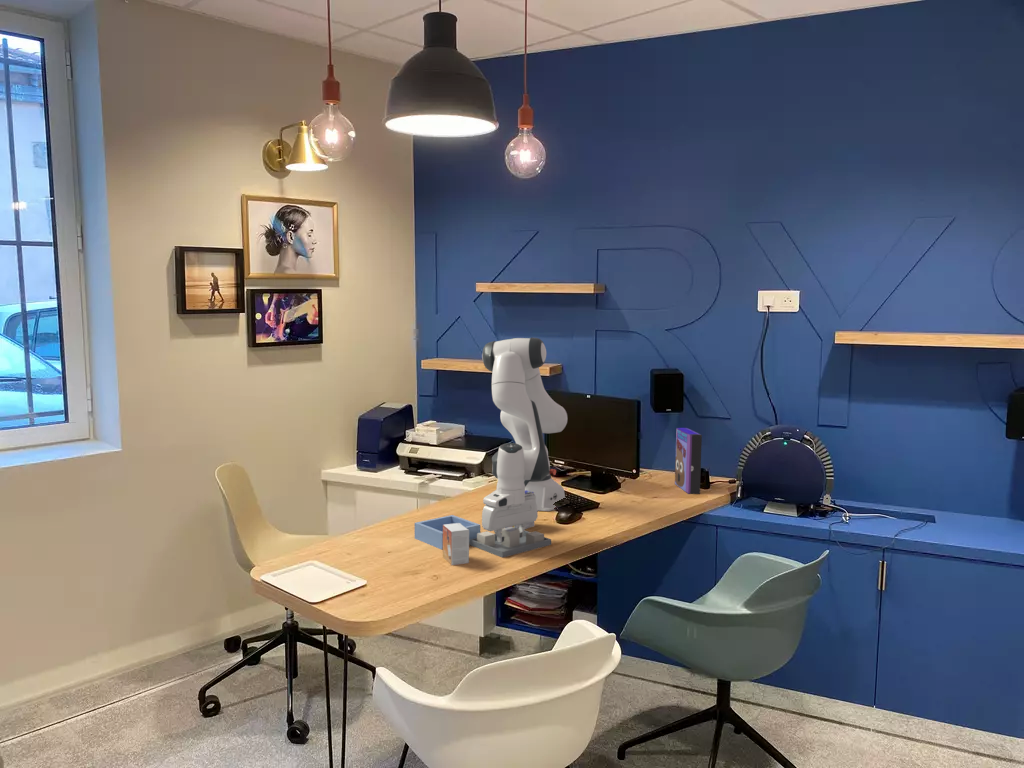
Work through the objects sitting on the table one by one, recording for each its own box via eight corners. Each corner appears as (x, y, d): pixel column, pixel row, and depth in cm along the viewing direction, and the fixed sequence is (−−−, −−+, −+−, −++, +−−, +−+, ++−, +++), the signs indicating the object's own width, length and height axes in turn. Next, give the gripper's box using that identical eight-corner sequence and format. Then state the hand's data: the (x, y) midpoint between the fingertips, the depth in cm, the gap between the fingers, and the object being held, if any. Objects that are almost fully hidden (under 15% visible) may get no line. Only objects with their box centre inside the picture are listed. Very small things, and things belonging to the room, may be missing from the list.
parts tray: (517, 534, 266) (517, 528, 265) (551, 546, 254) (551, 539, 253) (469, 546, 253) (469, 539, 252) (502, 559, 241) (502, 551, 240)
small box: (442, 558, 241) (442, 524, 240) (460, 556, 243) (460, 522, 242) (451, 567, 233) (451, 531, 232) (469, 564, 236) (469, 529, 234)
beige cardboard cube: (511, 542, 256) (511, 526, 255) (519, 545, 253) (519, 529, 252) (501, 544, 253) (501, 528, 253) (509, 547, 250) (509, 531, 250)
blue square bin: (452, 531, 269) (452, 514, 268) (480, 541, 257) (480, 524, 257) (414, 539, 259) (414, 522, 258) (441, 551, 248) (441, 533, 247)
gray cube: (535, 541, 256) (535, 531, 256) (544, 544, 253) (544, 534, 253) (525, 544, 254) (526, 533, 253) (534, 547, 250) (534, 536, 250)
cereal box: (674, 484, 340) (676, 427, 337) (685, 483, 340) (687, 427, 338) (688, 494, 322) (690, 434, 320) (699, 493, 323) (701, 434, 320)
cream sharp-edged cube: (486, 542, 256) (486, 531, 255) (494, 545, 253) (494, 534, 252) (476, 544, 253) (476, 533, 253) (484, 547, 250) (484, 536, 250)
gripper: (528, 489, 260) (528, 531, 262) (478, 499, 247) (478, 543, 249) (542, 493, 256) (541, 535, 257) (491, 503, 243) (491, 548, 244)
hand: (510, 539), depth 253 cm, fingers open, 6 cm apart
